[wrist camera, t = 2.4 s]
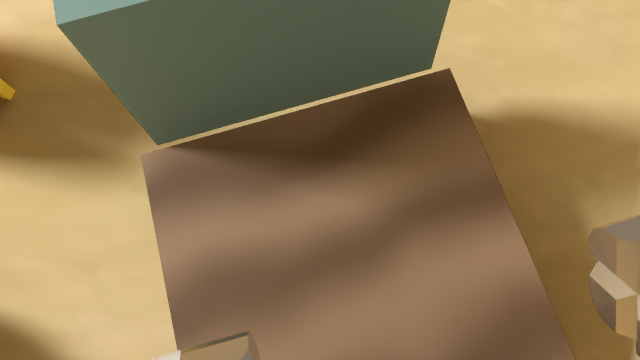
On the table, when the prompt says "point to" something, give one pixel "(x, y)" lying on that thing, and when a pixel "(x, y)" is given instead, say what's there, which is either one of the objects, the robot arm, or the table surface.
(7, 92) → the hamburger
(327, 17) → the grey-green flat slab
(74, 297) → the table surface
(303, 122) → the wooden l-shaped block
